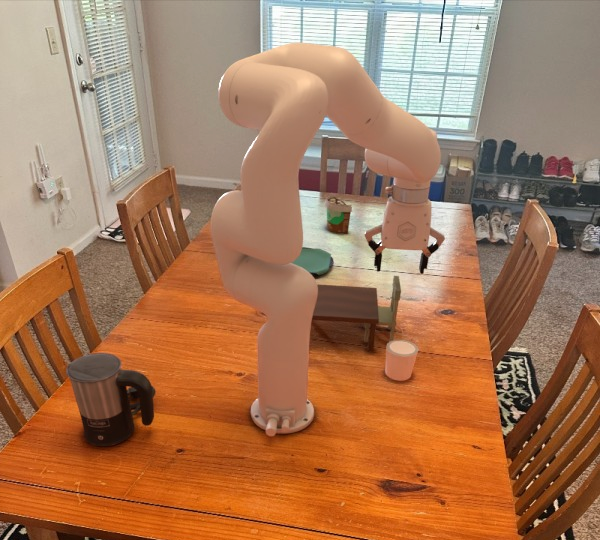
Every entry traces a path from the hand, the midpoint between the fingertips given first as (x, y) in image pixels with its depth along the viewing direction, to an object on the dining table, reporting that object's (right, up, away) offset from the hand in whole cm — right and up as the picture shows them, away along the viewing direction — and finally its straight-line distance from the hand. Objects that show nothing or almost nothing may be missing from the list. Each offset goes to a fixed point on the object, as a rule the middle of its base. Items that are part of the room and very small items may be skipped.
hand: (399, 270), depth 128 cm
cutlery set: (-27, +11, +43) cm, 52 cm away
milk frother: (-57, -33, -17) cm, 69 cm away
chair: (-4, -14, +10) cm, 17 cm away
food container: (-11, +29, +67) cm, 74 cm away
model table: (-13, -13, +11) cm, 22 cm away
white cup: (-1, -24, -2) cm, 24 cm away
